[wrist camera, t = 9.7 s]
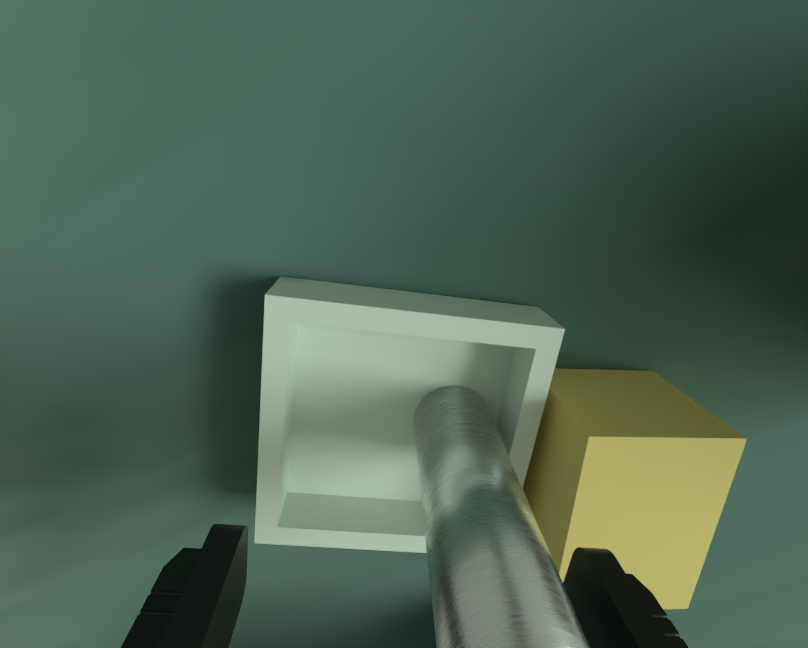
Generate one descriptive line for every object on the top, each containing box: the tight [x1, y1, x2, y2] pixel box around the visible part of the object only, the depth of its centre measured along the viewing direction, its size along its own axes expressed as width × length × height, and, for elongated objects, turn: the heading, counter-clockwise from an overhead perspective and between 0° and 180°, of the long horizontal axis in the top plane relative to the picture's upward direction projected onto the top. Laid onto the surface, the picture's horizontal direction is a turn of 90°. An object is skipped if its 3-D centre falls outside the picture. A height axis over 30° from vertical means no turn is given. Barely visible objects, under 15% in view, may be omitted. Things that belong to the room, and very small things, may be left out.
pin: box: [413, 386, 590, 648], centre depth 12 cm, size 4×4×12 cm
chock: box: [523, 368, 747, 609], centre depth 17 cm, size 7×5×5 cm
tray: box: [254, 276, 565, 553], centre depth 17 cm, size 10×10×2 cm
